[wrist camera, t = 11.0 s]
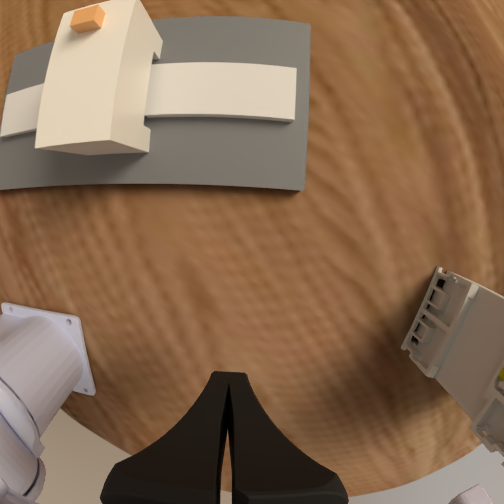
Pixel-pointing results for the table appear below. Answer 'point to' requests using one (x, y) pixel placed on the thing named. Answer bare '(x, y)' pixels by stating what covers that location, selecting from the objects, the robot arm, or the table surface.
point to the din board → (185, 111)
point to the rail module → (99, 81)
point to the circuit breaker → (464, 350)
